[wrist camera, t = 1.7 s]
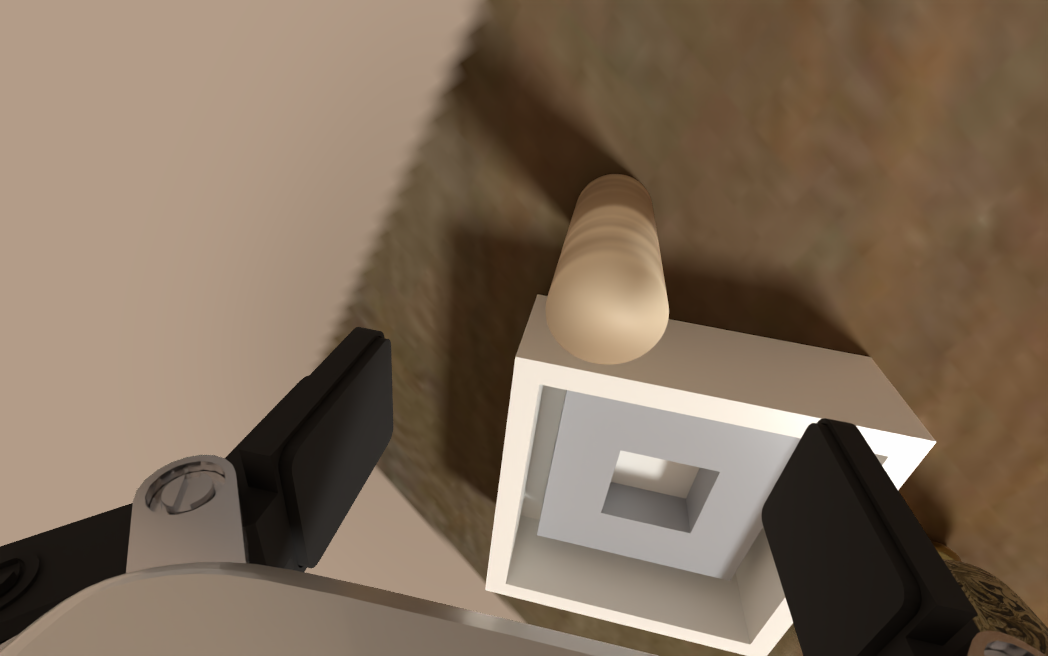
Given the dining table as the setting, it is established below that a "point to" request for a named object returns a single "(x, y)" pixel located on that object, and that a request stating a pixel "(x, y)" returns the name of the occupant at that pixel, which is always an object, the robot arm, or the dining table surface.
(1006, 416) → the dining table surface
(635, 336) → the peg
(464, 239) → the dining table surface
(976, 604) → the cup
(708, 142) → the dining table surface
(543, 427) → the box
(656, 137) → the dining table surface
